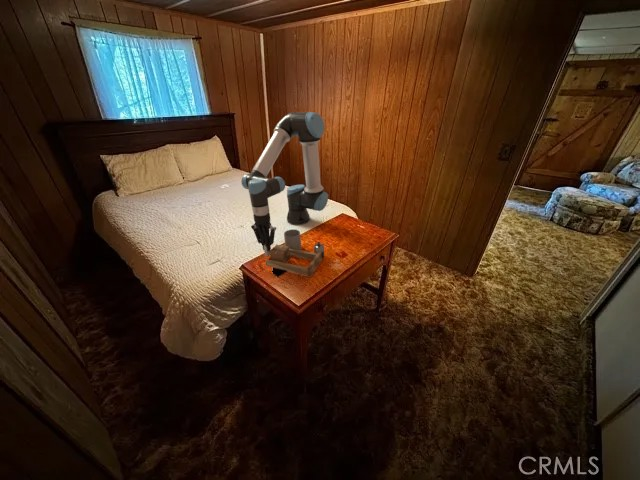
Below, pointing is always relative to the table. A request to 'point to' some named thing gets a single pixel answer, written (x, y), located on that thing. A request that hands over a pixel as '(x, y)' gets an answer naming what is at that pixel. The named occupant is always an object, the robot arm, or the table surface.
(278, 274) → the smartphone
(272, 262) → the bay
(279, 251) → the crate
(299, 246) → the cup
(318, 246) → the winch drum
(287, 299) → the table surface
